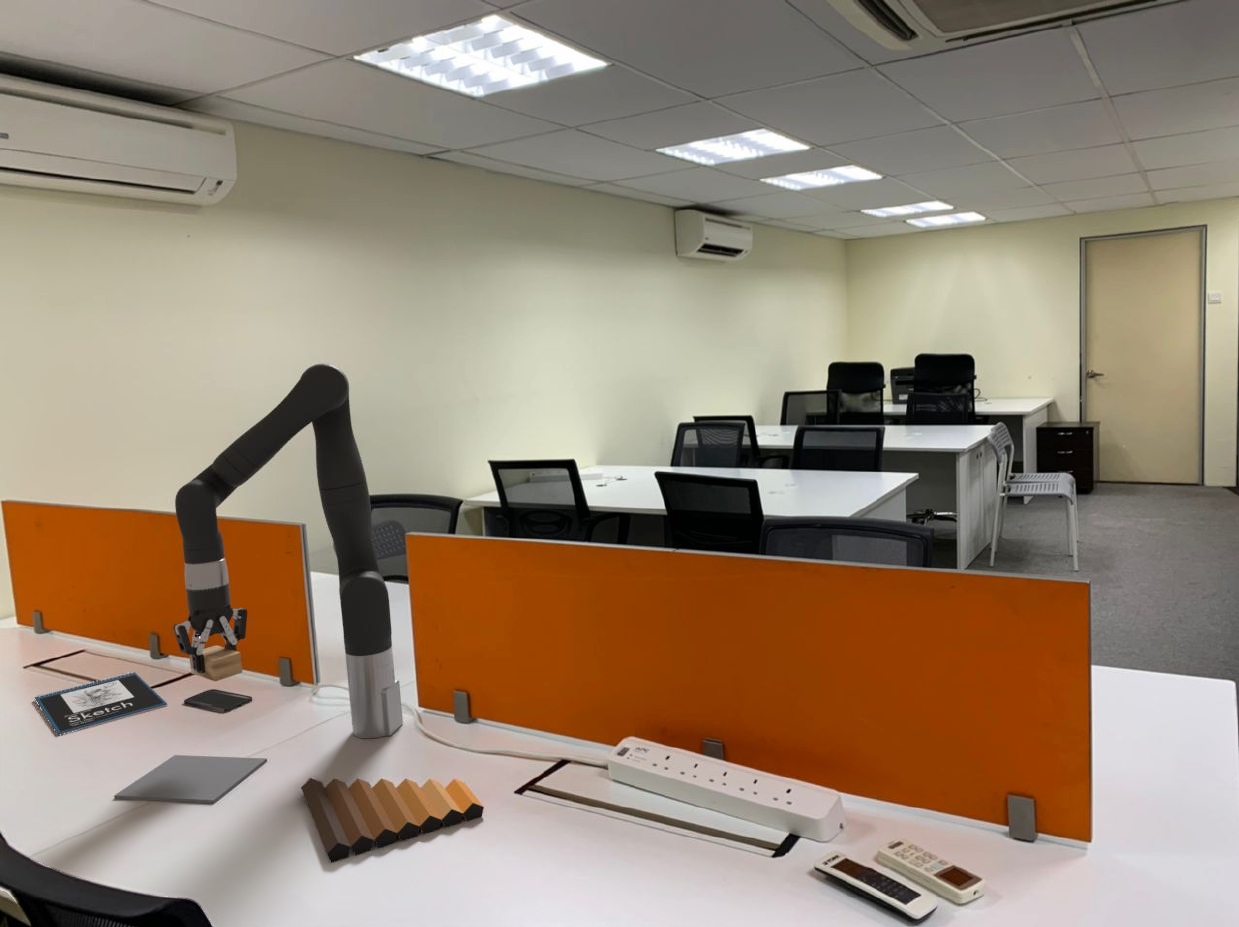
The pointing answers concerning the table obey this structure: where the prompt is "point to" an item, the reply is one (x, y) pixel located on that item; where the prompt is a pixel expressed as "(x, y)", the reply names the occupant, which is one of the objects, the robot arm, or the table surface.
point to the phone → (218, 700)
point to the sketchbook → (98, 702)
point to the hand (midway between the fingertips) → (216, 667)
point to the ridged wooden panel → (384, 812)
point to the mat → (192, 779)
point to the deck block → (219, 663)
